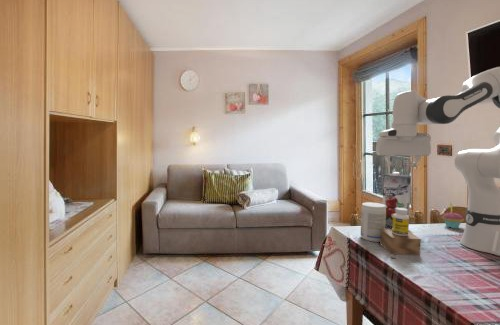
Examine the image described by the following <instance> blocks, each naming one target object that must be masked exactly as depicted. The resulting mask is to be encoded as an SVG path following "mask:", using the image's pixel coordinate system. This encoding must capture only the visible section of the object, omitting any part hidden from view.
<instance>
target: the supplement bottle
mask: <svg viewBox="0 0 500 325" xmlns="http://www.w3.org/2000/svg"><path fill="white" fill-rule="evenodd" d="M407 213H408V210H407V209H405V208H396V213H395V214H394V215H393V225H392V228H391V230H392V233H393V234H395V235H399V236H407V235H408V231H409V227H410V225H409V224H410V215H409V216H408V215H407Z"/></svg>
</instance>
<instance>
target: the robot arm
mask: <svg viewBox="0 0 500 325" xmlns="http://www.w3.org/2000/svg"><path fill="white" fill-rule="evenodd" d="M394 97H395V98H394V100H393V105H392V106H393V107H392V119H393V120H392V124H391V127H390V128H388V129H385V130H381V131H379V133H378V136H379V137H378V138H377V140H376V143H375V144H376V145H375V154H376V155H378V156H384V159H385V161H386V166H387V168H388V167H389V168H392V167H393V163H394V162H393V161H391V160H390V159H391V156H409V157H410V156H413V158H414V160H413V162H410V164H411V165H410V167H411V168H418V163H419V162H420V160H421V159H422V158H421V157H428V156H430V155H431V153H432V152H431V151H432V146H431V141H432V140H431V135H430V134H429V133H427V132H417V131H418V125H422V126H426V125H436V124H437V125H439V124H440V125H445V124H446V125H447V124H450V123H452V122H454V121H456V119H458V118H459V116H460V115H462V113H463V112H465V111H467V110H468V109H469V108H472V107H474V106H476V105H477V104H479V103H483V102H485V101H488V100H491V101H492V103H493V104H494V105H495V107H496V108H498V109H500V66H496V67H493V68H490V69H487V70H485V71H482V72H480V73H477V74H475V75H473V76H472V77H470V78H468V79H467V80H466V81H463V83H462V85H461V90H460V92H459V93H458V94H455V95H449V94H448V95H442V96H439V97H435V98H430V99H428V98H425V97H424V96H422V95H421V94H419V93H418V91H417V90H408V91H403V92H399V93H398V94H397V95H395V96H394ZM492 138H493V142H494V143H495V144H496V145H495V146H494V147H492V148H475V147H474V148H469V149H463V150H461V151H459V152H457V154H456V155H455V157H454V165H455V168H456V170H458V171H459V172H460V174H461V175H462V177H463V179H464V180H465V183H466V186H467V192H468V193H467V195H468V200H467V209H465V227H464V230H463V234H462V237H461V238H460V241H459V243H460V244H461V245H463V246H464V247H467V248H468V249H469V248H470V249H472V250H475V251H479V252H484V253H488V254H492V255H495V256H498V257H500V187H499V186H498V185H497V184H496V182H495V179H500V126H499V127H498V128H497V130H496V131H494V133H493V136H492Z"/></svg>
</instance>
